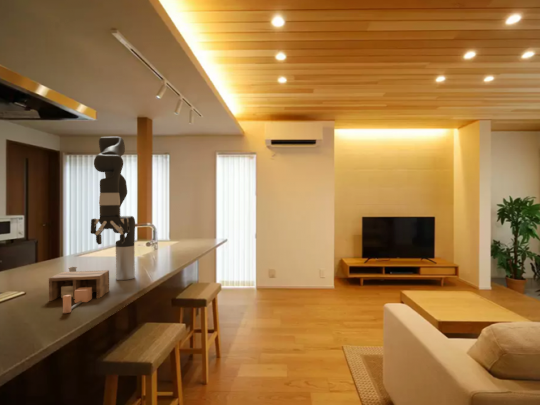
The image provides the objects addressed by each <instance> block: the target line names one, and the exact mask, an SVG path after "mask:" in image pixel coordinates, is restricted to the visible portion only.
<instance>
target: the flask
mask: <svg viewBox="0 0 540 405" xmlns="http://www.w3.org/2000/svg"><path fill="white" fill-rule="evenodd" d="M77 268H78V267H77V266H69V267H68V272H77Z"/></svg>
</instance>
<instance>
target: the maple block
mask: <svg viewBox="0 0 540 405" xmlns="http://www.w3.org/2000/svg"><path fill="white" fill-rule="evenodd" d="M65 295H71V298H73V284H65V285H63V286H62V287H61V296H60V297H61V299H63V296H65Z"/></svg>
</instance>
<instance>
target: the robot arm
mask: <svg viewBox="0 0 540 405" xmlns="http://www.w3.org/2000/svg"><path fill="white" fill-rule="evenodd" d="M98 146H99V147H98V148H99V152H100V153H98V154H97V155H96V156H95V158H94V160H93V166H94V169H95V170H96V171H97V172H99V173H104V176H105V177H104V178H101V179H100V180H99V197H98V198H99V200H98V204H99V205H98V206H99V218H91V220H90V234H93V235H95V242H96V244H97V245H102V242H103V241H102V239H103V238H102V233H103V231H104V230H112V231H113V233H115V234H119V239H118V240H116V241H115V279H116V280H118V281H123V280H124V281H125V280H132V279H135V277H136V274H135V273H136V271H135V270H136V269H135V268H136V267H135V265H136V264H135V263H136V260H135V258H136V257H135V256H136V255H135V253H136V252H135V250H136V248H135V242H136V240H135V238H136V233H135V232H136V219H135V217H134V216H133V215H121V206H122V205H123V203H124V201H125V199H126V198H127V194H128V185H127V181H126V179H125V177H124V176H123V174H122V171H123V167H124V160H123V155H124V154H125V151H126V147H125V141H124V139H123V137H121V136H101V137H100V138H99V140H98ZM97 224H100V226H99V228H98V229H97Z"/></svg>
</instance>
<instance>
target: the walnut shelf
mask: <svg viewBox="0 0 540 405" xmlns="http://www.w3.org/2000/svg"><path fill="white" fill-rule="evenodd" d="M65 284H73V297H72V300H73V299H75V297H74V291H75V290H77V289H78V288H84V287H92V293H96V299H101V298H102V297H104V296H105V295H106V294H107V293H109V291H110V270H109V269H105V270H83V271H82V270H81V271H79V270H78V271H77V270H76V272H69V271H62V272H59V273H57V274H55V275H53V276H51V277H49V278H48V301H49V302H51V301H52V302H53V301H54V300H56V299H57V298H59V297H61V287H62V286H63V285H65ZM105 293H106V294H105ZM100 297H101V298H100Z"/></svg>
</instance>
